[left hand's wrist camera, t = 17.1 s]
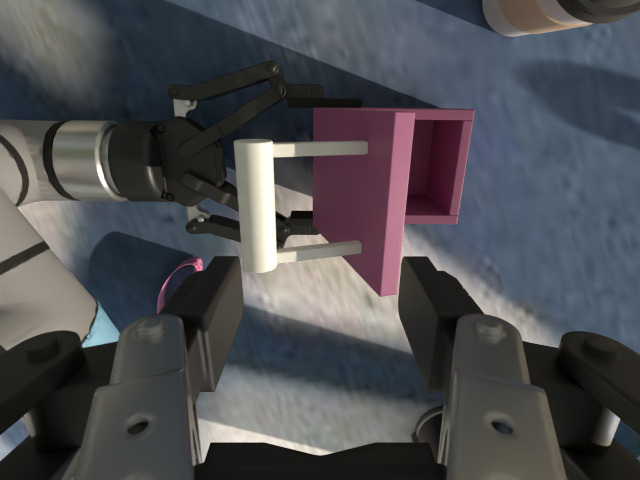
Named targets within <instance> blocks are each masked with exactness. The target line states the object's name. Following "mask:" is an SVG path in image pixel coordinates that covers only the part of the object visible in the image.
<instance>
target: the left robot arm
mask: <svg viewBox="0 0 640 480" xmlns="http://www.w3.org/2000/svg"><path fill="white" fill-rule="evenodd" d="M243 305H244V301H243V288H242V277H241V265H240V259H239V257H238V256H215V257H214V258H213V259H212V261H211V262H210V264H209V265H208V267H207V268H206V269H205V271H197V272H195V273H193V274H192V275H190V276H188V277H187V278H186V279H185V280H184V281H183V282H182V284H181V285H180V286H179V288H178V289H177V290H176V291H175V293H174V296H172V297H171V298H170V299H169V300H168V302H167V303H166V304H165V306H164V307H163V308H162V309H161V311H160V312H159V313H158V314H155V315H150V316H146V317H143V318H140V319H138V320H136V321H133V322H132V323H130V324H129V325H127V326H126V327H125V328H124V329H123V330H122V331H121V333H120V335H119V338H118V341H116V342H111V343H106V344H101V345H96V346H90V347H85V348H83V346H82V343H81V339H80V336H79V335H78V334H77V333H76V332H73V331H68V330H59V331H52V332H47V333H43V334H40V335H37V336H34V337H31V338H29V339H27V340H24V341H22V342H21V343H19V344H17V345H15V346H14V347H12V348H11V349H9V350H7V351H6V352H4V353H3V354H1V355H0V435H1V434H2V433H3V432H5V431H6V430H7V429H8V428H9V427H11V426H12V425H13V424H14V423H15V422H17V421H18V420H19V419H20V418H21V417H23V418H24V421H25V423H26V426H27V429H28V431H29V434H30V435H29V436H28V437H27V438H26V439H25V440H24V441H23V442H21V443H20V444H19V445H18V446H17V447H16V448H15V449H14V450H12V451H11V452H10V453H9V454H8V455H7V456H6V457H5V458H4V459H2V460H1V461H0V480H71V479H72V477H73V476H74V478H73V480H567V478H566V476H567V477H568V479H569V480H640V461H639V460H638V459H636V458H635V457H634V456H633V455H632V454H631V453H630V452H629V451H628V450H626V449H625V448H624V447H623V446H622V445H621V444H620V443H619V442H617V441H616V440H615V439H614V438H613V437H614V434H615V432H616V429H617V427H618V424H619V421H620V419H621V420H622V421H623V422H625V423H626V424H627V425H628V426H629V427H631V428H632V429H633V430H634V431H636V432H637V433H638V434H639V435H640V355H639V354H637V353H636V352H634V351H633V350H631V349H629V348H628V347H626V346H625V345H623V344H621V343H619V342H617V341H615V340H613V339H610V338H608V337H605V336H602V335H599V334H595V333H590V332H583V331H573V332H568V333H566V334H564V335H563V336H562V338H561V342H560V345H559V348H555V347H550V346H544V345H539V344H534V343H529V342H525V341H522V338H521V335H520V333H519V331H518V330H517V329H516V328H515V327H514V326H513V325H511V324H510V323H508V322H507V321H504V320H502V319H500V318H497V317H494V316H490V315H485V314H484V313H483V312H482V310H481V309H480V308H479V307H478V305H477V304H476V303H475V301H474V300H473V299H472V298H471V296H469V294H468V293H467V291H466V290H465V289H463V286H462V285H461V284H460V282H459V281H458V280H457V279H456V278H455V277H453V276H451V275H450V274H448V273H446V272H445V271H437V269H436V268H435V267H434V265H433V264H432V262H431V261H430V260H429V258H428V257H403V259H402V264H401V275H400V286H399V298H398V309H399V316H400V320H401V322H402V325H403V327H404V330H405V333H406V335H407V338H408V341H409V343H410V346H411V349H412V351H413V354H414V357H415V359H416V362H417V365H418V367H419V370H420V373H421V375H422V378H423V381H424V383H425V386H426V389H427V391H428V392H443V394H444V396H445V401H444V407H440V408H437V409H434V410H432V411H430V412H428V413H427V414H425V415H424V416H423V417H422V418H421V419H420V421H419V422H418V424H417V427H416V432H415V433H414V434H412V435H411V437H412V440H413V443H372V444H368V445H364V446H360V447H356V448H352V449H348V450H344V451H340V452H336V453H332V454H327V455H322V456H318V455H313V454H308V453H304V452H300V451H296V450H292V449H288V448H284V447H280V446H276V445H272V444H268V443H210V446H209V449H208V452H207V456H206V459H205V462H204V463H203V462H202V453H201V443H200V434H199V424H198V415H197V407H196V400H197V398H198V395H199V393H200V392H215V389H216V386H217V384H218V381H219V378H220V376H221V373H222V370H223V368H224V365H225V362H226V359H227V357H228V354H229V351H230V349H231V346H232V343H233V340H234V338H235V335H236V332H237V330H238V327H239V324H240V321H241V319H242V315H243Z"/></svg>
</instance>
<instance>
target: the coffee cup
mask: <svg viewBox="0 0 640 480" xmlns="http://www.w3.org/2000/svg"><path fill="white" fill-rule="evenodd" d="M482 6H483V12H484V16H485V18H486V21H487V22H488V24H489V25H490V27H491V28H492V29H493V30H494V31H496V32H497V33H499V34H501V35H504V36H510V37H513V36H520V35H526V34H539V33H545V32H551V31H557V30H563V29H569V28H575V27H581V26H586V25H590V24H593V23H596V24H601V23H610V22H614V21H618V20H621V19H623V18H626V17H628V16H630V15H632V14H634V13H636V12H639V11H640V0H482Z"/></svg>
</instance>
